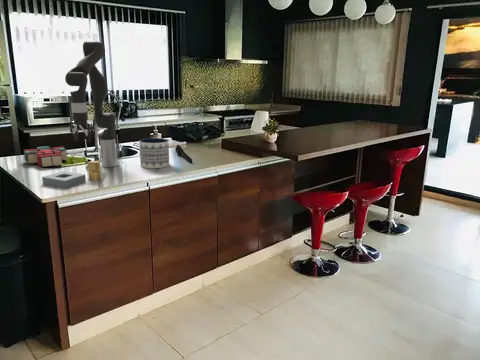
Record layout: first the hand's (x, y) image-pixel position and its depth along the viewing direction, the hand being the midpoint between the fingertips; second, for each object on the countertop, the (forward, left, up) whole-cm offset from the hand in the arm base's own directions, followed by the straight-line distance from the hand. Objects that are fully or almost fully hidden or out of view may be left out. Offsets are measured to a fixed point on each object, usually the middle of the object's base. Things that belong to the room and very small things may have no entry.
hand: (82, 141), depth 211 cm
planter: (-46, +14, -22) cm, 53 cm away
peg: (-3, +4, -22) cm, 22 cm away
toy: (-20, -51, -22) cm, 59 cm away
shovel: (-73, +19, -22) cm, 79 cm away
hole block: (+10, -5, -22) cm, 24 cm away
